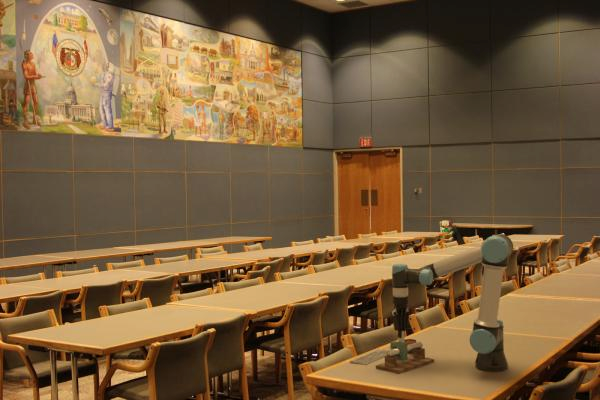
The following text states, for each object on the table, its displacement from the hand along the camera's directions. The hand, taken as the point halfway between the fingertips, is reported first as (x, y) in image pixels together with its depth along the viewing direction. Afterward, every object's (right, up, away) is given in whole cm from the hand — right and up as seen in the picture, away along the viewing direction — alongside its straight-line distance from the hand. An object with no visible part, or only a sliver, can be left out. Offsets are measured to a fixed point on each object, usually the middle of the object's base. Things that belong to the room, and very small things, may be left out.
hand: (401, 344), depth 336 cm
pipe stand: (+2, -11, +2) cm, 11 cm away
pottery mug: (+9, -11, +27) cm, 31 cm away
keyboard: (-12, -12, +18) cm, 25 cm away
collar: (-1, -7, -1) cm, 7 cm away
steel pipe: (+2, -5, +2) cm, 5 cm away
